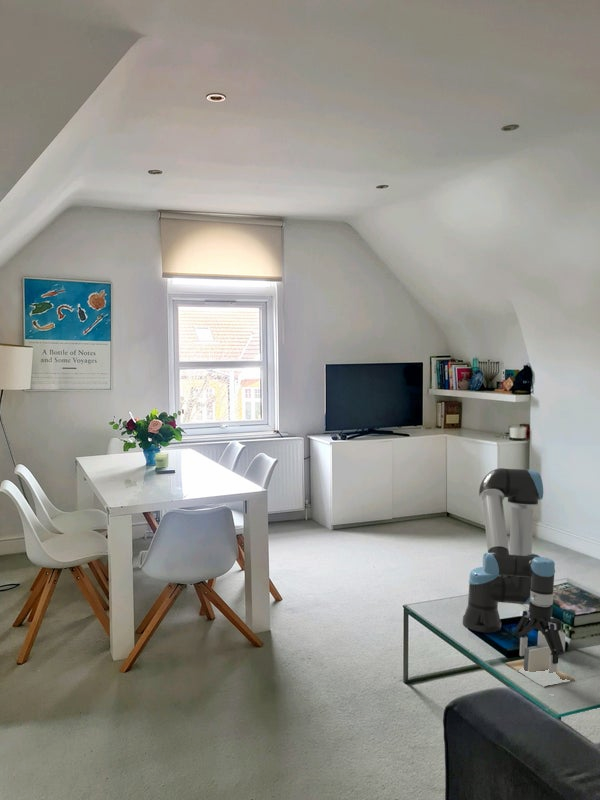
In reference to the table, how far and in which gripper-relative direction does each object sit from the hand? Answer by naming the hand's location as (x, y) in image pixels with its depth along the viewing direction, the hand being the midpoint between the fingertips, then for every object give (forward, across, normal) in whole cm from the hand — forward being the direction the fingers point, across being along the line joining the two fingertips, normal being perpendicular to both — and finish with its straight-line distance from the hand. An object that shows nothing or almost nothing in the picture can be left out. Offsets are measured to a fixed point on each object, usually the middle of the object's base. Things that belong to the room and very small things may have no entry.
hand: (537, 663), depth 225 cm
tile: (+2, 0, 0) cm, 2 cm away
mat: (+3, +1, 0) cm, 3 cm away
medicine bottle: (+3, -11, +18) cm, 21 cm away
